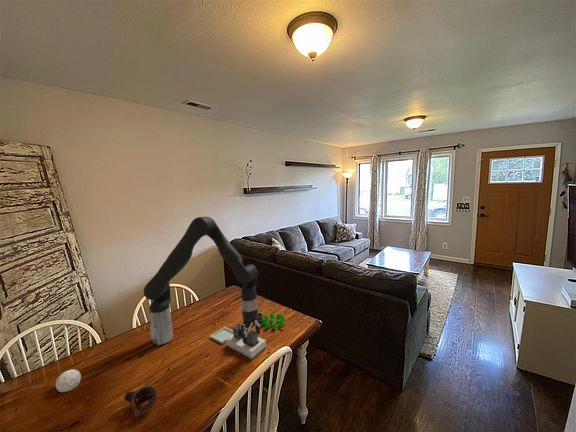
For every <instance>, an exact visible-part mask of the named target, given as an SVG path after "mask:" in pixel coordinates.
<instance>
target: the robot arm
mask: <svg viewBox="0 0 576 432" xmlns="http://www.w3.org/2000/svg"><path fill="white" fill-rule="evenodd" d="M205 236H207V237H209V238H210V239H211V240H212V241H213V243H214V244H215V245H216V248H217V250H218V253H219V255H220V256H221V257H222V259H223V260H224V261H225V262H226V263H227V265H228V266H229V267H230V268H231V270H232V273H233V274H234V277H235V278H236V279H237V281H239V282H240V283H241V284H243V285H242V287H241V291H240V293H241V315H242V317H241V318H242V319H243V321H242V323H238V324H237V325H238V336H239V337H241V338H242V340H243V343H244V344H247V343H248V342H247V334H248V332H249V331H250V330H252V328H253V327H255V328H254V329H255V332H257V336H259V335H260V334H261V326H262V325H261V324H263V320H262V319H263V314H262V313H261V312H259V305H258V297H257V285H258V276H259V274H258V273H259V271H258V269H257V267H256V266H255V265H254V264H250V263H249V264H247V265H245V266H244V263H243V262H244V261H243V260H244V257H243V256H242V255H241V254H240V253H239V252H238V250H237V249H236V248H235V247H234V246H233V245H232V243H230V241H229V240H228V239H227V237H226V236H225V235H224V233H223V232H222V231H221V229H220V227H219V226H218V224H217V222H216V221H215V220H214V219H213V217H210V216H199V217H195V218H194V219H193V220H192V221H191V222H190V224H189V226H188V227H187V229H186V231H185V232H184V234H183V236H182V237H181V239H180V240H179V242H178V243H177V244H176V246H175V247H174V248H173V249H172V250H171V252H170V254H169V255H168V256H167V258H166V259H165V261H164V262H163V263H162V265H161V266H160V268H159V270H158V271H157V272H156V273H155V275H154V276H153V277H152V278H151V279H150V280H149V281H148V282H147V283H146V284H145V286H144V289H143V295H144V297H145V298H146V299H147V300H149V301H152V302H151V303H150V305H149V313H150V324H149V329H150V336H151V343H152V344H154V345H156V346H161V345H165V344H167V343H169V342H170V341H171V340H172V339H173V338H174V332H173V324H172V314H171V313H172V312H171V300H172V298H171V297H172V296H171V285H170V281H171V280H172V279H174V278H175V277H176V276H177V275H178V274H179V273H180V272H181V271H182V270H183V269H184V268H185V266H186V265H188V263H189V261H190V259H191V258H192V256H193V251H194V247H195V245H197V243H198V242H199V241H200V240H201V239H202V238H203V237H205ZM245 331H246V333H245ZM244 333H245V334H244Z"/></svg>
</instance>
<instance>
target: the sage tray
mask: <svg viewBox="0 0 576 432" xmlns="http://www.w3.org/2000/svg"><path fill="white" fill-rule="evenodd" d="M232 334H233V329H230V328H228V327H227V326H223V327H222V328H219V330H216V331H215V332H214V333H212V334H210V335H209V339H211V340H213V341H216V343H219V344H221V345H223V344H226V338H228V337H229V336H231V335H232Z"/></svg>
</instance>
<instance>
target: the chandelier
mask: <svg viewBox="0 0 576 432" xmlns="http://www.w3.org/2000/svg"><path fill="white" fill-rule="evenodd" d="M275 313H276V312H275V311H271V312H270V314H269V315H270V317H269V315H267V314H264V315H262V320H263V324H261V325H260V326H264V329H265V330H269V329H270V328H271V327H270V326H271V323H272V329H273V330H275V331H276V329H277V327H278V326H279V327H280V328H283V327H284V326H285V322H286V321H287V318H286V316H285V315H282V314H281V312H277V314H275ZM275 315H276V316H275Z"/></svg>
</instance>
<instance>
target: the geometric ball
mask: <svg viewBox="0 0 576 432" xmlns="http://www.w3.org/2000/svg"><path fill="white" fill-rule="evenodd" d="M81 378H82V375H81V372H80V371H79V370H77V369H74V368H73V369H69V370H66V371H64V372H62V374H60V375H59V376H58V377H57V378H56V381H55V388H56V390H57V391H58V392H60V393H65V392H69V391H72V390H73V389H75V388H77V386H78V385H80V384H81V383H80V382H81Z"/></svg>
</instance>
